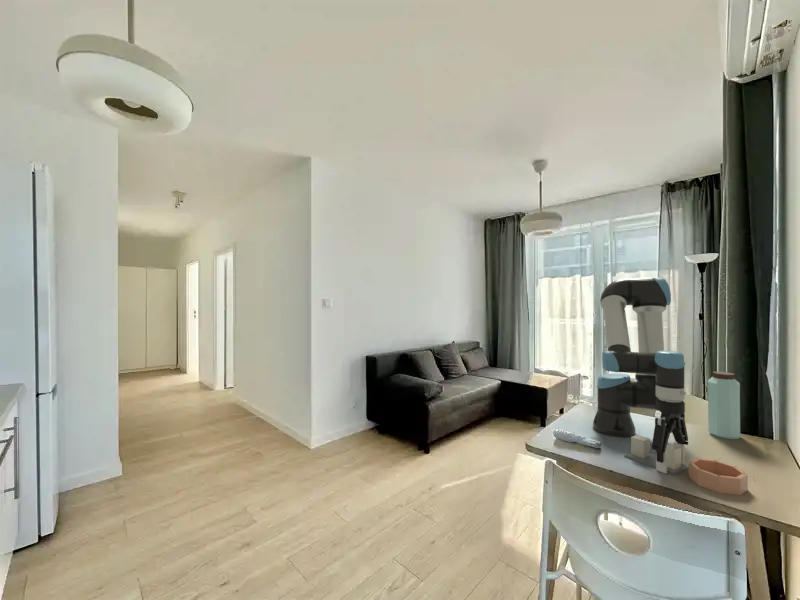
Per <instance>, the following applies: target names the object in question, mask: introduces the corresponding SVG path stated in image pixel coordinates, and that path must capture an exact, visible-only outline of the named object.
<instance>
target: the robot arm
mask: <svg viewBox="0 0 800 600" xmlns="http://www.w3.org/2000/svg"><path fill="white" fill-rule="evenodd" d="M671 297H672V294H671V289H670V286H669V283H668V281H667V280H666V279H665V278H663V277H652V276H650V277H634V278H631V277H630V278H625V277H624V278H620V279H616V280H614V281H612V282H611V283H609V284H608V285H607V286H606V287H605V288H604V290H603V291H602V293H601V295H600V301H599V302H600V308H601V309H602V310H603V316H604V317H603V318H604V327H605V329H604V330H605V339H606V350H603V351H602V354H601V362H602V365H601V367H602V369H603V370H604V371H606V372H611V373H606V374H602V375H600V376H598V377H597V385H596V388H597V410H596V413H595V416H594V419H593V422H592V428H593V430H595V431H596V430H597V431H596V432H598V431H599V432H598V433H600V432H601V434H603V433H604V434H603V435H606V436H607V435H608V436H611V437H617V436H618V438H619V437H620V438H629V437H630V438H631V437H632V436H635V435H636V427H635V424H634V421H633V418H632V416H631V408H634V409H640V410H641V409H643V410H651V411H658V412H660V413H661V414H660V417H655V418H654V429H653V436H652V443H651V450H653V451H655V455H656V468H655V470H656V471H657V472H660V473H663V474H668V473H667V452H665V450H666V446H667V444H669V443H668V442H669V438H670V434H672V436H673V438H674V441H675V442H673V446H676V447H679V448H681V464H684V465H686V461H685V460H686V459H685V457H686V455H685V450H686V449H685V446H688V445H689V436H688V432H687V425H686V420H685V419H686V418H685V417H686V416H685V413H686V403H685V400H686V399H685V397H686V396H685V395H687V392H686V391H685V365H686V362H685V355H684V353H683V352H680V351H676V350H675V351H673V350H665V341H664V339H665V338H664V325H663V313H664V312H665V311H666V310H667V306H670V305H671V303H672V298H671ZM627 306H631V307H632V311H634V312H635V313H636V321H637V322H636V323H637V341H638V342H637V343H638V344H637V345H638V351H637V352H635V351H632V350H631V344H630V336H629V328H628V321H627V314H626V310H625V309H626V307H627ZM628 373H629V374H635V375H634V376H635V378H631V376H630V375H629V374H628Z"/></svg>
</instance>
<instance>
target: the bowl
mask: <svg viewBox="0 0 800 600" xmlns="http://www.w3.org/2000/svg"><path fill="white" fill-rule="evenodd" d="M688 477H689V478H690V480H692V481H693V482H694V483H695V484H696V485H697V486H699V487H700V486H701V487H704V488H706V489H708V490H711V491H713V492H716V493H719V494H728V495H730V494H731V495H738V496H741V495H743V494H744V493H746V492H748V490H749V487H748V486H749V480H748V474H747V473H746V472H744V471H743V470H742V469H740V468H739V467H738V466H736V465H732V464H729V463H727V462H722V461H720V460H715V459H707V458H694V459H692V460H690V461H688Z"/></svg>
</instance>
